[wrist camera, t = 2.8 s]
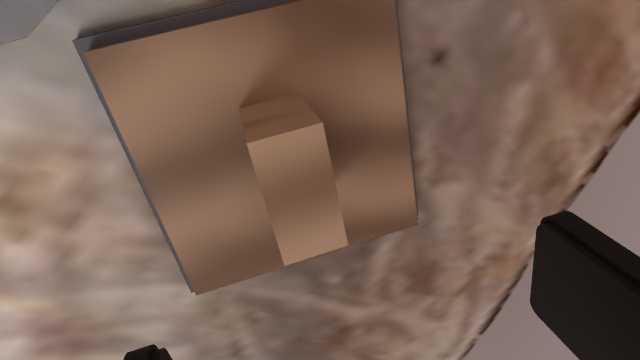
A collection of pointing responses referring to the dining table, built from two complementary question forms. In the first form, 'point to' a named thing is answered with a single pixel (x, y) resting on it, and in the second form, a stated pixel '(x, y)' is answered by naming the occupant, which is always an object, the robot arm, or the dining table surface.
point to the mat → (248, 3)
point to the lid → (267, 133)
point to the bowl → (21, 17)
